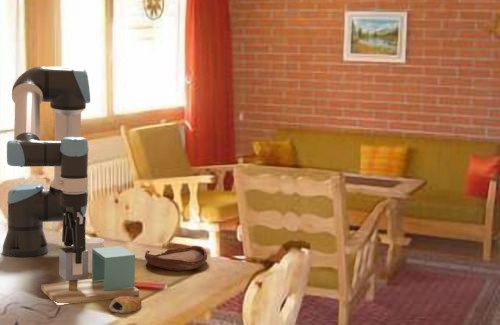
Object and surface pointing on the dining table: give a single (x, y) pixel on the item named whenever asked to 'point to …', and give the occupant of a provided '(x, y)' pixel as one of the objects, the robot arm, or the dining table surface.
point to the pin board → (83, 291)
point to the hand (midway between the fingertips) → (73, 271)
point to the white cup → (91, 244)
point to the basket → (179, 258)
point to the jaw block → (66, 264)
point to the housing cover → (113, 267)
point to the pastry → (125, 304)
